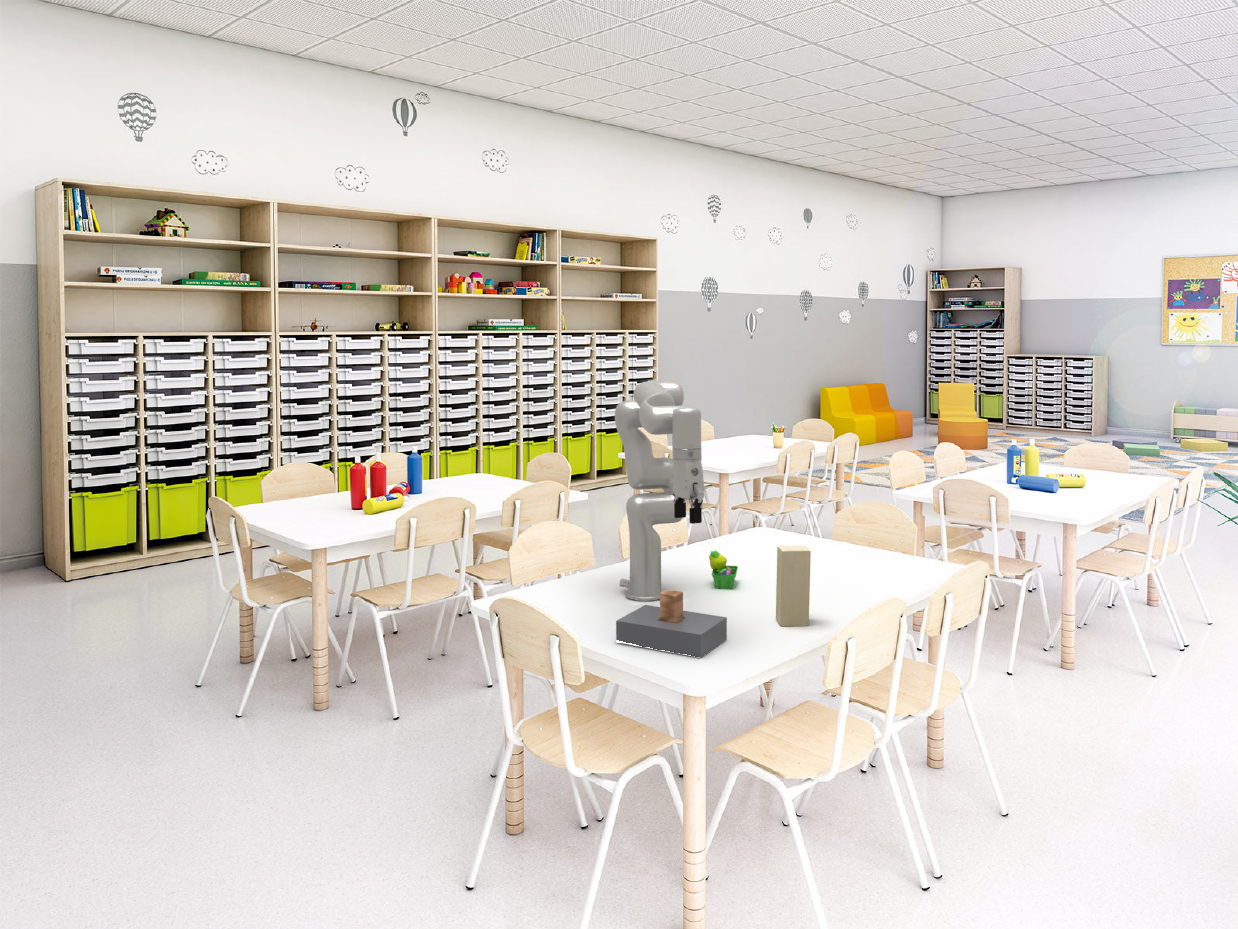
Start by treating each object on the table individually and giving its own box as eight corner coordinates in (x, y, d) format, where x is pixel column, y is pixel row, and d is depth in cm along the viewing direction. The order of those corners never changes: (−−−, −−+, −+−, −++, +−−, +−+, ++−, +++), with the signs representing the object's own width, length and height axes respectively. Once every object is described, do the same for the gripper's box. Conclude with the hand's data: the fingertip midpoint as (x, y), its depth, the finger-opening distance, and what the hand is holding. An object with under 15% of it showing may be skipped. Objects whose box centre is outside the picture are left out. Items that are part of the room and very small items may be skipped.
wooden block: (660, 642, 238) (660, 593, 236) (668, 637, 242) (667, 589, 240) (675, 645, 236) (675, 596, 234) (683, 640, 240) (683, 591, 238)
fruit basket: (736, 590, 285) (736, 555, 284) (707, 589, 287) (707, 554, 285) (737, 581, 297) (738, 547, 295) (710, 580, 298) (710, 546, 297)
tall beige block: (803, 617, 257) (804, 544, 254) (809, 626, 250) (810, 550, 247) (775, 618, 257) (775, 545, 254) (780, 626, 250) (781, 551, 247)
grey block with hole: (616, 643, 238) (616, 620, 237) (645, 626, 252) (645, 604, 251) (700, 658, 226) (700, 634, 225) (726, 639, 240) (726, 617, 239)
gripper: (714, 457, 232) (715, 524, 233) (686, 451, 248) (687, 514, 250) (687, 458, 229) (688, 526, 231) (660, 453, 245) (661, 516, 247)
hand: (687, 520), depth 240 cm, fingers open, 9 cm apart
